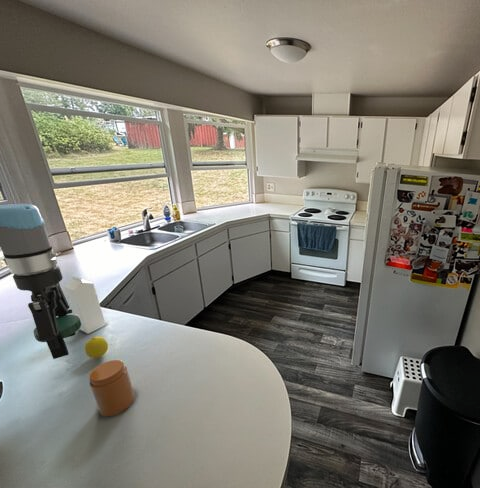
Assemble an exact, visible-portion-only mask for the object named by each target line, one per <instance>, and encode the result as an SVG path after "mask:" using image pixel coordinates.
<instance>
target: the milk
mask: <svg viewBox="0 0 480 488" xmlns="http://www.w3.org/2000/svg"><path fill="white" fill-rule="evenodd" d="M64 289H65V292H66V296H67V298H68V301H69V304H70V306H71V309H72V313H73V315H77V316H78V317H79V318H80V321H81V324H82V325H81V327H80V328H79V329H78V330H80V331H82V332H84V333H85V334H87V335H88V334H91V333H93V332H95V331H97V330H99V329H101V328H103V327H105V326H107V325H106V321H105V318H104V317H105V316H104V314H103V311H102V308H101V304H100V301H99V297H98V294H97V291H96V287H95V284H94V283H93V282H91V281H88V280H86V279H82V278H80V277H78V276H75V275H72V280H70V281H69V282H68V283H67V284H66V285H65V286H64Z"/></svg>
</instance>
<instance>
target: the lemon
mask: <svg viewBox="0 0 480 488" xmlns="http://www.w3.org/2000/svg"><path fill="white" fill-rule="evenodd" d="M108 349H109V343H108V342H107V340H106V339H105V338H104V337H102V336H92V337H91V338H90V339H88V340H87V341H86V342H85V345H84V350H85V355H87V356H88V357H89V358H92V359H97V358H101V357H102V356H104V355H105V354H106V353H107V351H108Z"/></svg>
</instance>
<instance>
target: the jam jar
mask: <svg viewBox="0 0 480 488" xmlns="http://www.w3.org/2000/svg"><path fill="white" fill-rule="evenodd" d="M88 379H89V387H90V390H91V392H92V395H93V397H94V400H95V403H96V405H97V409H98V412H99V413H100V415H101V416H102V417H113V416H115V415H118V414H120V413H122V412H123V411H125V410H126V409H128V408H129V407H130V406H131V405H132V403H133V402H134V400H135V397H136V396H135V395H136V394H135V392H134V391H135V390H134V388H133V385H132V381H131V378H130V374H129V371H128V367H127V366H126V365H125V363H124V361H122V360H121V359H111V360H108V361H105V362H103V363H101V364H99V365H97V366H96V367H95V368H94V369H93V370H92V371H91V372H90V373H89V378H88Z"/></svg>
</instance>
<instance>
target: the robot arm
mask: <svg viewBox="0 0 480 488" xmlns="http://www.w3.org/2000/svg"><path fill="white" fill-rule="evenodd" d="M0 250H1V252H2V254H3V257H4V258H3V259H4V260H5V262H6V266H7V268H8V270H9V272H10V274H13V275H12V279H13V282H14V283H15V286H16V288H17V289H18V290H20V291H27V292H31V295H30V300H31V302H28V303H27V307H28V309H29V310H30V312H31V316H32V318H33V321H34V325H35V328H37V331H38V335H39V340H40V341H41V342H40V343H43V342H42V341H46V342H45V343H46V344H47V347H48V349H49V352H50V354H51V356H52V360H56V359H59V358H63V357H66V356H69V354H70V352H69V350H68V346H67V344H66V341H65V339H66V338H70V337H75V336H76V334H77V333H76V332H75V333H73V334H71V335H69V336H67V337H65V338H63V336H62V333H59V330H58V325H57V320H56V317H60V316H64V315H71V314H73V310H72V308H71V309H70V305H69V303H68V300H67V298H66V296H65V294H64V291H63V289H62V288H61V284H60V282H62V280H63V279H64V278H63V274H62V271H61V268H60V266H59V265H58V261H57V258H58V257H59V254H58V253H57V252H55V253H54V249H53V245H52V244H51V239H50V237H49V234H48V230H47V228H46V224H45V220H44V219H43V217H42V215H41V212H40V210H39V208H38V207H37V206H36V205H34V204H30V203H10V204H9V203H7V204H0Z"/></svg>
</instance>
